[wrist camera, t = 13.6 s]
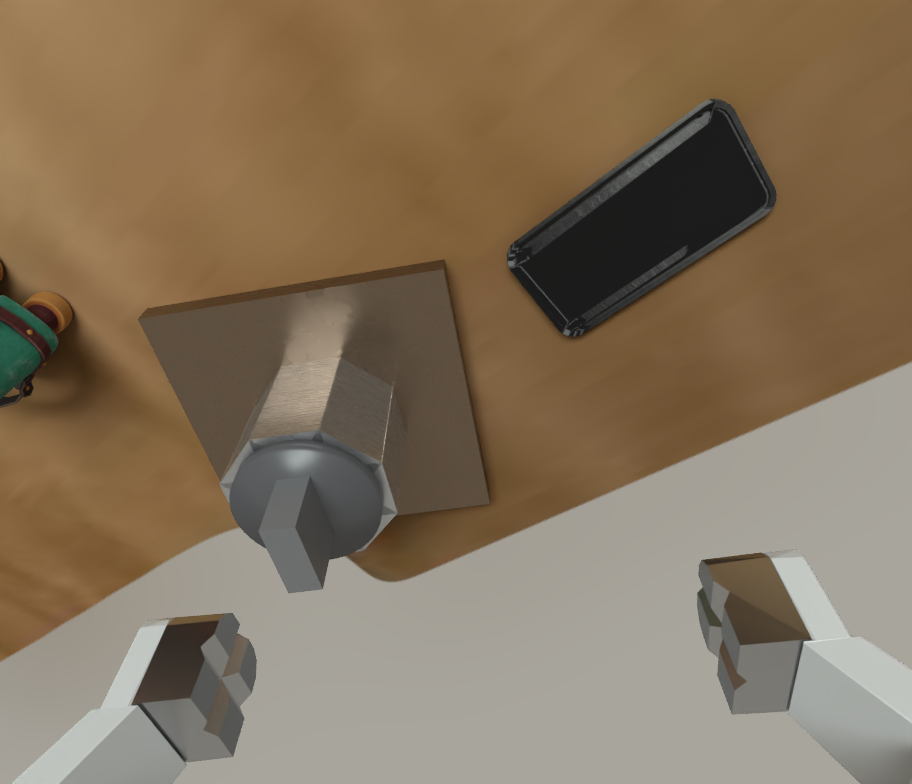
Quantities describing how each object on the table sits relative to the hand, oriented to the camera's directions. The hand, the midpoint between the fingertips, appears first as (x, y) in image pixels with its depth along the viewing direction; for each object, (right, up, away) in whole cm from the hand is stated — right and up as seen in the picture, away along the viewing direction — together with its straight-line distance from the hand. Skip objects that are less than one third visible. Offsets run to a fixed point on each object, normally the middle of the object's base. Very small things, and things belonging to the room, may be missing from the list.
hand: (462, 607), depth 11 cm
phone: (+11, +14, +28) cm, 34 cm away
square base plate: (-9, +2, +35) cm, 37 cm away
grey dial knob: (-9, -2, +29) cm, 31 cm away
